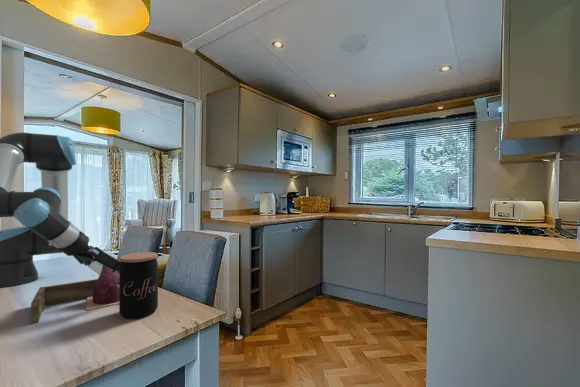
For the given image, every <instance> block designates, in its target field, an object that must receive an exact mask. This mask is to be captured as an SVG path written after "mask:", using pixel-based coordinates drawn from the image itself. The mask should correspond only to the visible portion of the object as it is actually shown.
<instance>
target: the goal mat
mask: <svg viewBox="0 0 580 387" xmlns="http://www.w3.org/2000/svg"><path fill="white" fill-rule="evenodd" d="M116 305H119V301H118V302H114V303H109V304H95V303H93V296H91V297H87V298H86V311H90V310H96V309H100V308H106V307H112V306H116Z"/></svg>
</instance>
